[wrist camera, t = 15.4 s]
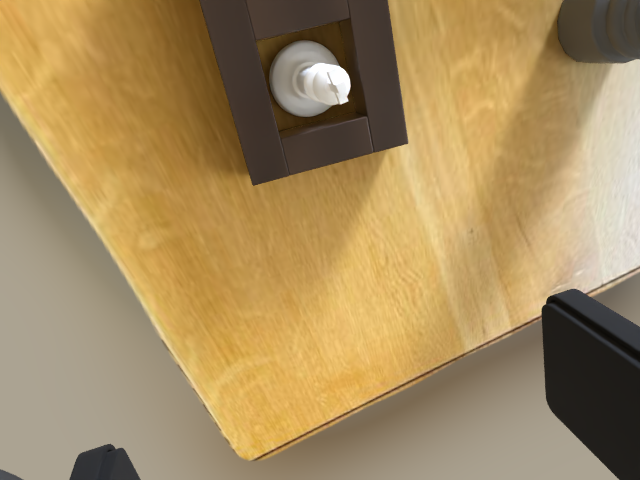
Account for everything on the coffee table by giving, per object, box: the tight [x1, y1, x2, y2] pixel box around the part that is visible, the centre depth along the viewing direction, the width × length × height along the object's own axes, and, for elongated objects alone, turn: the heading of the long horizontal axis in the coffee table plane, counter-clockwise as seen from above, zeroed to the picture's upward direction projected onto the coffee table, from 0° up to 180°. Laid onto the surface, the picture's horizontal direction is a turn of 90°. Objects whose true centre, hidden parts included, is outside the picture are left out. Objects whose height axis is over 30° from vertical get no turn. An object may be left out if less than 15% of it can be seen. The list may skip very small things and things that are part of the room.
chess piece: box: [269, 40, 350, 117], centre depth 27 cm, size 5×5×10 cm
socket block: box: [199, 0, 408, 186], centre depth 29 cm, size 11×19×3 cm, turn 13°
